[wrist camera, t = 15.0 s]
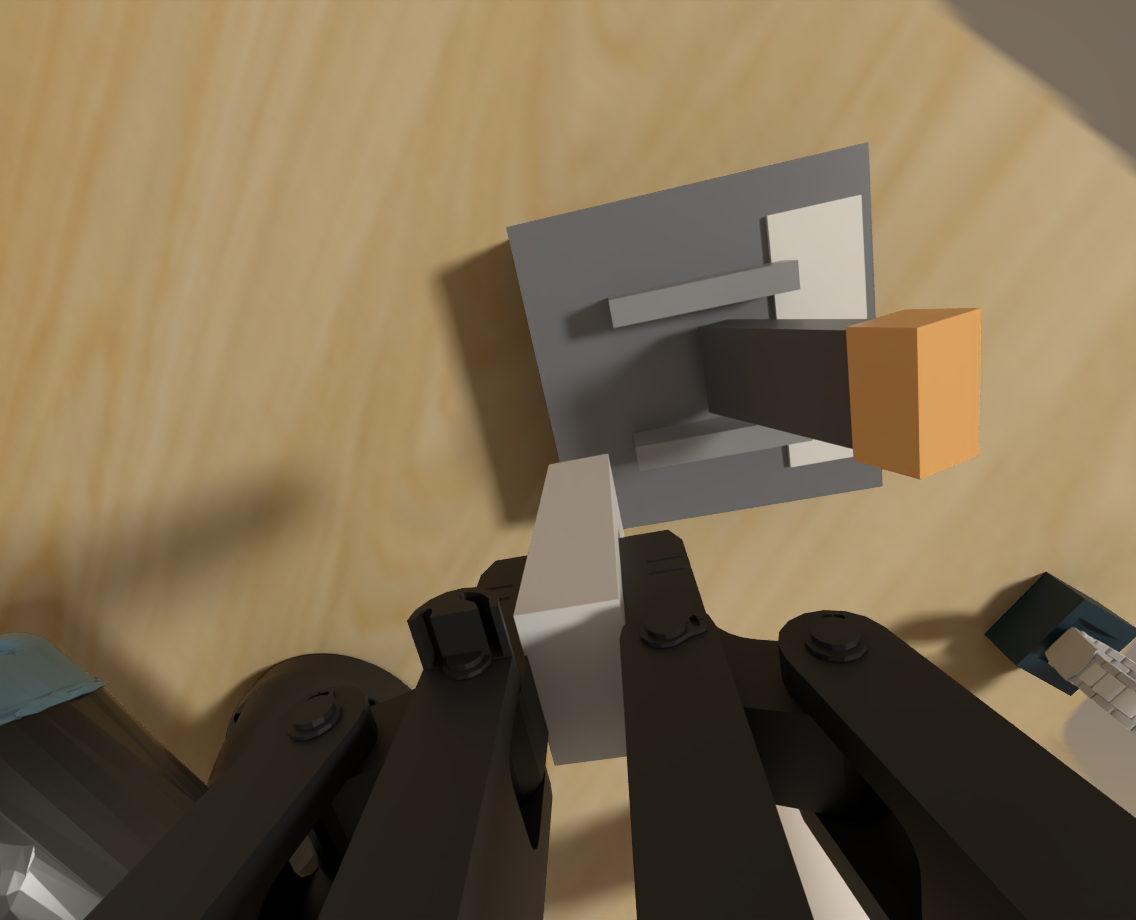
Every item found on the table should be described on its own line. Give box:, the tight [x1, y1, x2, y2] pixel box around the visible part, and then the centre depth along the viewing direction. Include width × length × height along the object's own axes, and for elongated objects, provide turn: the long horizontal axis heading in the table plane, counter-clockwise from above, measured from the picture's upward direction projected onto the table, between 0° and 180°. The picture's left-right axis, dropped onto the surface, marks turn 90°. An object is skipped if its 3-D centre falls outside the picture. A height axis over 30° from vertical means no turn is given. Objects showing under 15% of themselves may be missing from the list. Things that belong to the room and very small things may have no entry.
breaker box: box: [506, 142, 883, 529], centre depth 29 cm, size 16×16×8 cm
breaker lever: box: [698, 308, 981, 479], centre depth 21 cm, size 2×4×11 cm, turn 14°
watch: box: [984, 572, 1136, 734], centre depth 32 cm, size 6×8×11 cm
